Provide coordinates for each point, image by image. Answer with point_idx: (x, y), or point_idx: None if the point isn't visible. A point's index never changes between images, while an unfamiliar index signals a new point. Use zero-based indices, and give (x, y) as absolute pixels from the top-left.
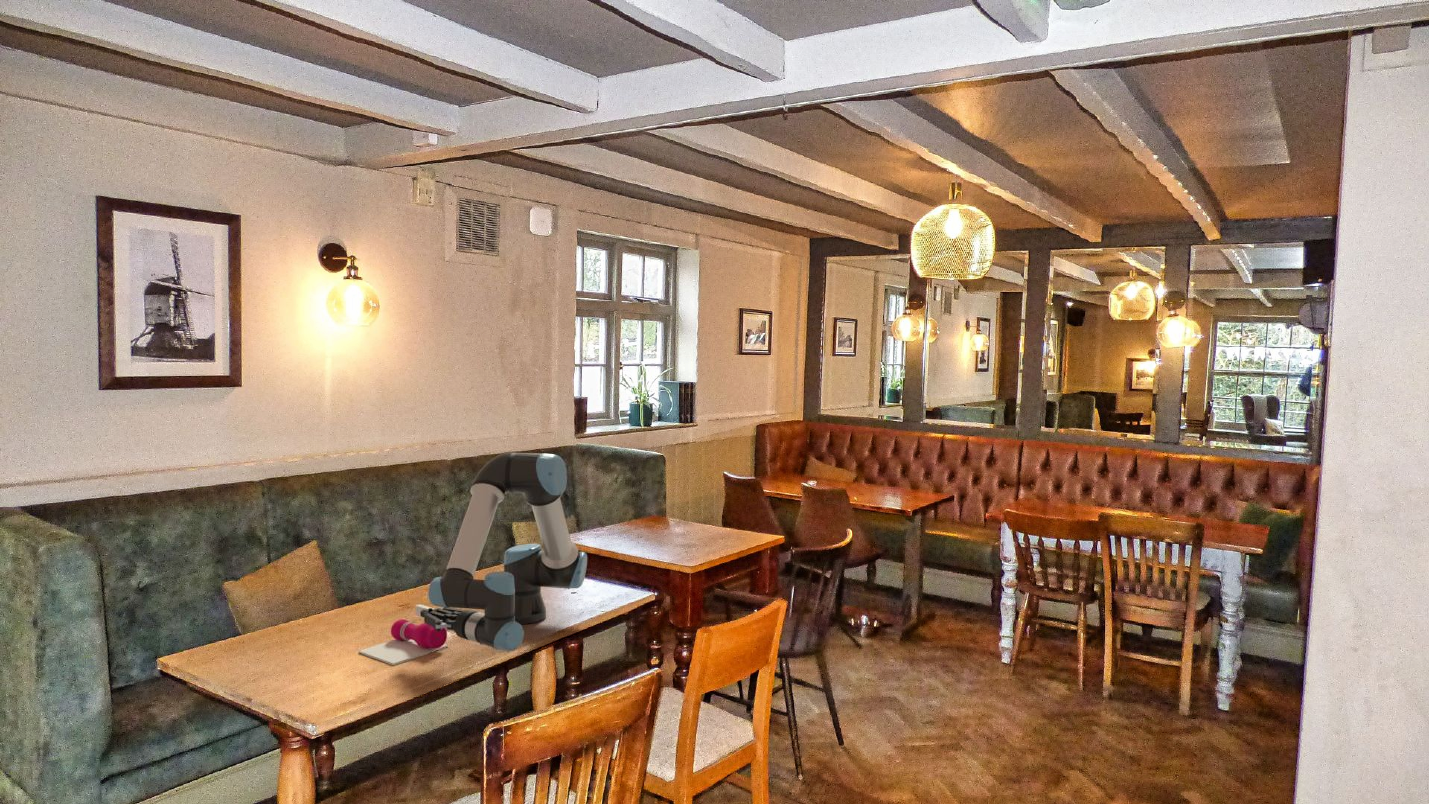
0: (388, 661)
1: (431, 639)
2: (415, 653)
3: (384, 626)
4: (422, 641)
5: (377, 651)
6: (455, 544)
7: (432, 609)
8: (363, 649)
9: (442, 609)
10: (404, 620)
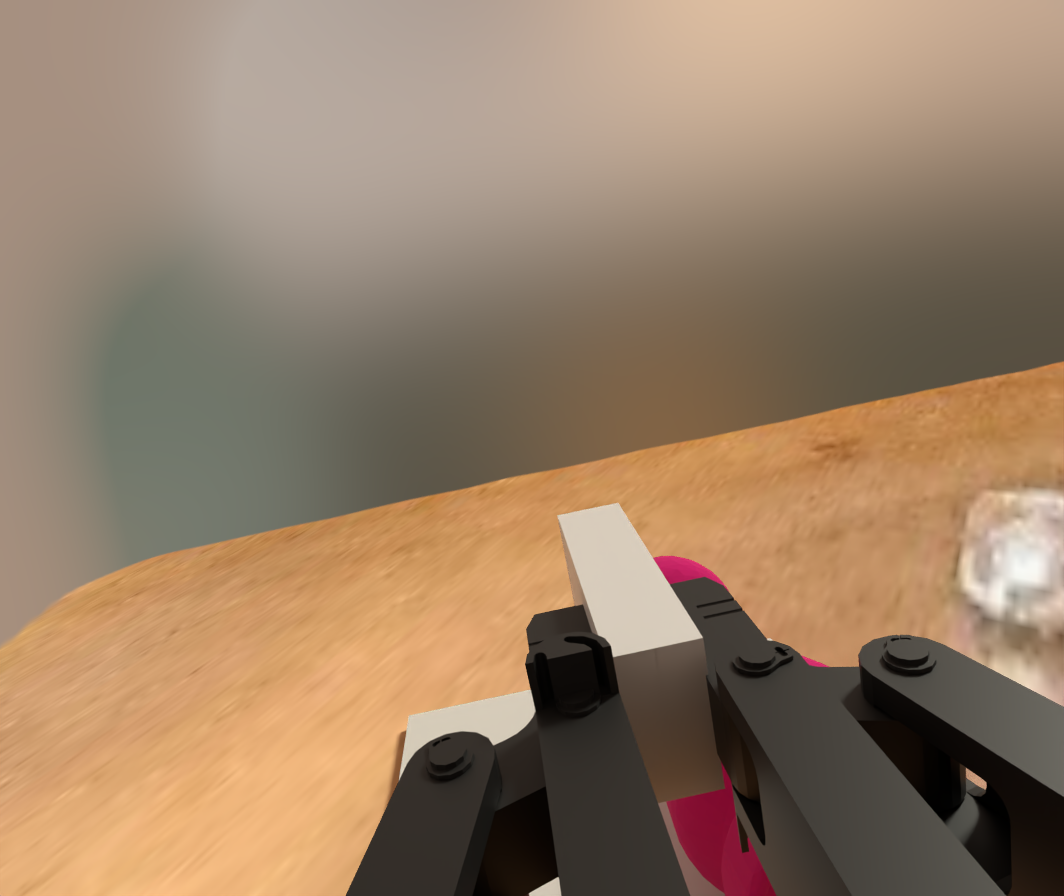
0: None
1: None
2: None
3: (692, 542)
4: (707, 863)
5: None
6: None
7: (647, 651)
8: (439, 709)
9: (830, 706)
10: (674, 570)
